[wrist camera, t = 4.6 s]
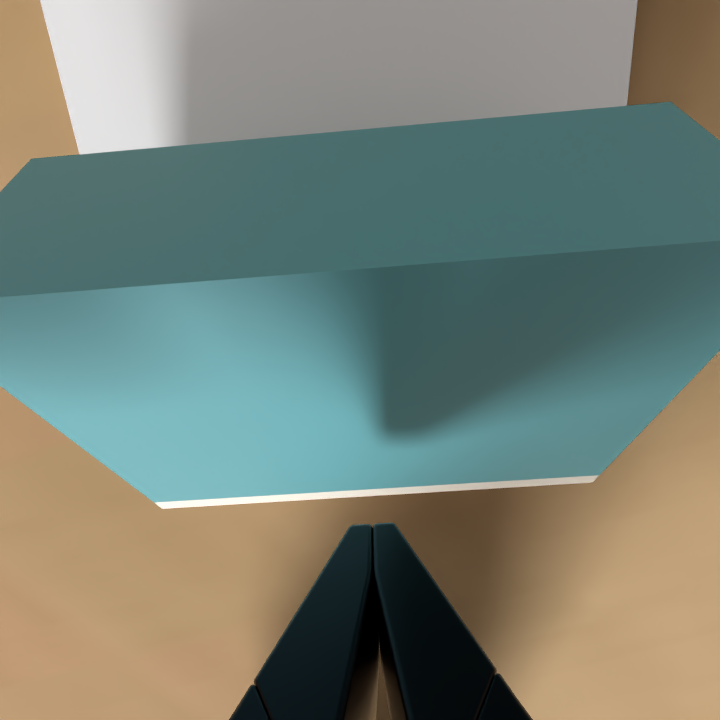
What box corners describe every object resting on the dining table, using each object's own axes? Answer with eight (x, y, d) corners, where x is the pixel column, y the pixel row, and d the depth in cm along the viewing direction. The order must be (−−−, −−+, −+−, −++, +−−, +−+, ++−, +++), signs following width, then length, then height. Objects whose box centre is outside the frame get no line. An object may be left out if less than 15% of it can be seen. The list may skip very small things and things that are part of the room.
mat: (597, 317, 13) (605, 320, 13) (137, 351, 14) (130, 355, 13) (633, -56, 10) (644, -67, 10) (50, 4, 11) (39, -4, 10)
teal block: (592, 482, 11) (834, 230, 5) (162, 508, 12) (-107, 305, 5) (546, 366, 14) (671, 101, 8) (192, 391, 14) (31, 158, 8)
